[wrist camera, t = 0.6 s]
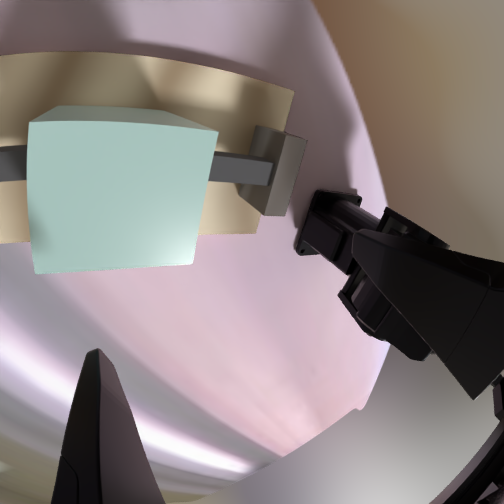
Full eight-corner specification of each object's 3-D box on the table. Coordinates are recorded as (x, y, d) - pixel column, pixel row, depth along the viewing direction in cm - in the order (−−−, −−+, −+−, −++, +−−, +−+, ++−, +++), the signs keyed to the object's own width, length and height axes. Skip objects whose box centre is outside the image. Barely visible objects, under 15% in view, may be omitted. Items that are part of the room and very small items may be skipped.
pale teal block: (163, 110, 14) (218, 131, 9) (150, 193, 17) (192, 263, 11) (58, 105, 11) (28, 122, 6) (52, 195, 13) (35, 273, 8)
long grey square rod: (280, 151, 19) (303, 161, 17) (271, 185, 20) (292, 198, 18) (-132, 162, 3) (-151, 176, 2) (-129, 200, 4) (-146, 217, 3)
